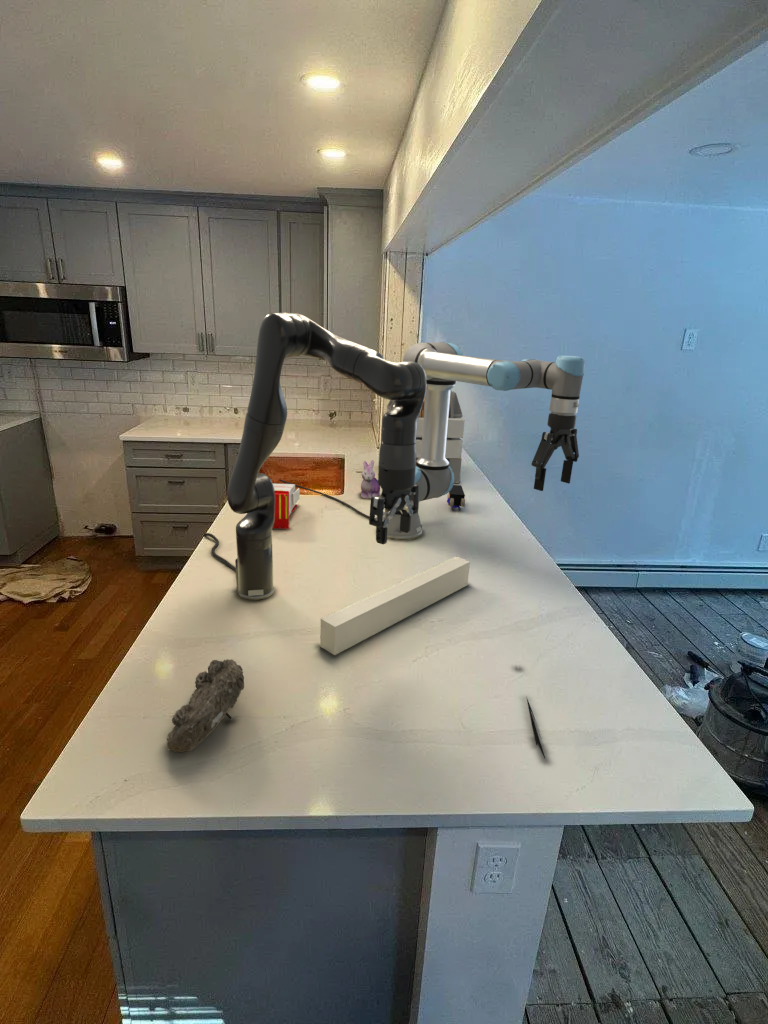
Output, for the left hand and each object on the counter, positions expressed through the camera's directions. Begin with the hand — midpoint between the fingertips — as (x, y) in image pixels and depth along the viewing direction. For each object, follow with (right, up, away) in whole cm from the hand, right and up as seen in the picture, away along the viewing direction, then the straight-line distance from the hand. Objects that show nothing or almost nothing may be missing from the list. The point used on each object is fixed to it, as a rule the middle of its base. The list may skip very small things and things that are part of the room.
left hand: (393, 537), depth 120 cm
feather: (+27, -35, -6) cm, 44 cm away
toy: (-41, +4, +92) cm, 100 cm away
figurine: (-8, +12, +118) cm, 119 cm away
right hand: (+47, +13, +45) cm, 67 cm away
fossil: (-35, -34, -12) cm, 50 cm away
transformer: (+15, +24, +155) cm, 157 cm away
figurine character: (+27, +7, +110) cm, 113 cm away
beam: (+3, -21, +28) cm, 35 cm away
